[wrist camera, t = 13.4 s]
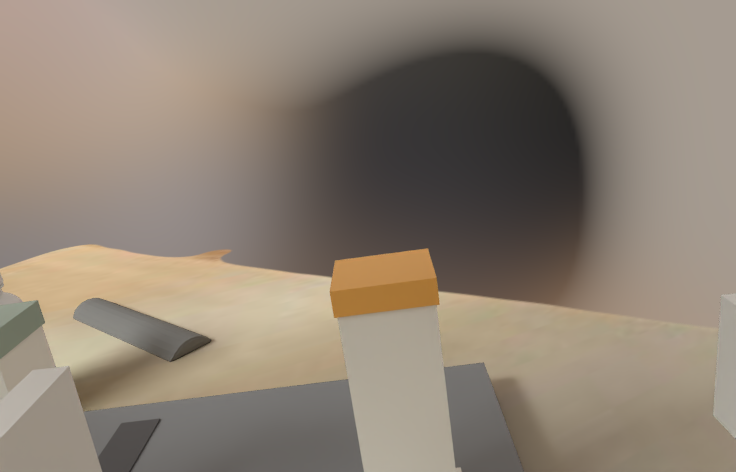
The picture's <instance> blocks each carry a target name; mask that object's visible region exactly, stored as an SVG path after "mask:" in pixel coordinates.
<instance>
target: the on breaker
mask: <svg viewBox="0 0 736 472" xmlns="http://www.w3.org/2000/svg"><path fill="white" fill-rule="evenodd" d="M44 323H45V321H44V318H43V315H42V312H41V309H40V306H39V303H38V300H36V301H29V302H21V303H14V304H6V305H0V401H1V400H2V399H3V398H4V397H5V396H6V395H7V394H8V393H9V392H10V391H11V390H12V389H13V388H14V387H15V386H16V385H18V384H19V383H20V382H21V381H22V380H23V379H24V378H25V377H26V376H27V375H28V374H29V373H30V372H31V371H32V370H37V369H46V368H56V366H55V363H54V360H53V357H52V354H51V351H50V348H49V345H48V342H47V339H46V336H45V333H44V330H43V327H42V325H43V324H44Z"/></svg>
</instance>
